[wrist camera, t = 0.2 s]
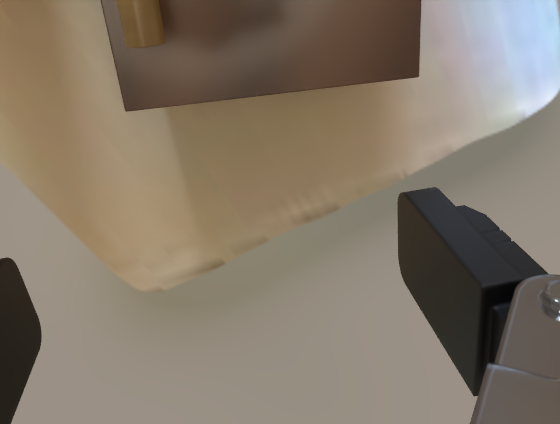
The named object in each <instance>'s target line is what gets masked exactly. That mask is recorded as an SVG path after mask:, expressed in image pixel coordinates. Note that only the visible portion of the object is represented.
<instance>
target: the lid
mask: <svg viewBox="0 0 560 424" xmlns="http://www.w3.org/2000/svg"><path fill="white" fill-rule="evenodd" d="M101 4H102V8H103V13H104V17H105V22H106V26H107V31H108V35H109V40H110V44H111V49H112V53H113V58H114V62H115V67H116V71H117V76H118V80H119V85H120V89H121V94H122V98H123V103H124V107H125V111H126V112H127V111H135V110H144V109H152V108H161V107H169V106H178V105H186V104H195V103H203V102H212V101H220V100H229V99H237V98H246V97H254V96H263V95H271V94H280V93H288V92H297V91H305V90H314V89H322V88H331V87H339V86H347V85H356V84H364V83H373V82H381V81H390V80H398V79H407V78H415V77H419V56H420V23H421V0H101Z"/></svg>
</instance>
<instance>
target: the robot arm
mask: <svg viewBox="0 0 560 424" xmlns="http://www.w3.org/2000/svg"><path fill="white" fill-rule="evenodd" d="M398 258H399V265H400V270H401V274H402V277H403V280H404V282H405V284H406V286H407V287H408V289H409V291H410V293H411V294H412V296H413V298H414V299H415V301H416V302H417V304H418V306H419V307H420V309H421V311H422V312H423V314H424V316H425V317H426V319H427V320H428V322H429V324H430V325H431V327H432V328H433V330H434V332H435V333H436V335H437V337H438V338H439V340H440V342H441V343H442V345H443V347H444V348H445V350H446V351H447V353H448V355H449V356H450V358H451V360H452V361H453V363H454V365H455V366H456V368H457V369H458V371H459V373H460V374H461V376H462V377H463V379H464V381H465V383H466V384H467V386H468V388H469V389H470V391H471V392H472V394H473V396H478V398H477V402H476V405H475V408H474V412H473V415H472V418H471V422H470V424H560V275H549V274H548V273H547V272H546V271H545V270H544V269H543V268H542V267H541V266H540V265H539V264H537V263H536V262H535V261H534V260H533V259H532V258H531V257H530V256H529V255H528V254H527V253H526V252H525V251H524V250H523V249H522V248H520V247H519V246H518V245H517V244H516V243H515V242H514V241H511V238H510V237H509V236H508V235H507V234H505V233H504V232H503V231H502V230H501V231H500V229H499V227H498V226H497V225H496V224H495V223H494V222H493V221H492V220H491V219H490V218H488V217H487V216H486V215H485V214H483V213H480V212H478V211H476V210H474V209H471V208H469V207H467V206H465V205H463V206H457V207H456V206H455V205H453V203H452V202H451V201H450V200H449V199H448V198H447V197H446V196H445V195H444V194H443V193H442V192H441V191H440V190H439V189H438V188H436V187H433V188H427V189H421V190H415V191H409V192H403V193H400V195H399V197H398ZM40 346H41V326H40V322H39V318H38V316H37V313H36V311H35V309H34V306H33V303H32V301H31V299H30V296H29V294H28V291H27V289H26V286H25V284H24V281H23V279H22V276H21V274H20V272H19V269H18V267H17V265H16V263H15V262H14V261H13V260H12V259H10V258H2V259H0V424H11V422H12V419H13V416H14V414H15V411H16V409H17V406H18V403H19V401H20V398H21V396H22V393H23V391H24V388H25V386H26V383H27V380H28V378H29V375H30V372H31V370H32V367H33V365H34V363H35V360H36V357H37V355H38V352H39V350H40Z"/></svg>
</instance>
